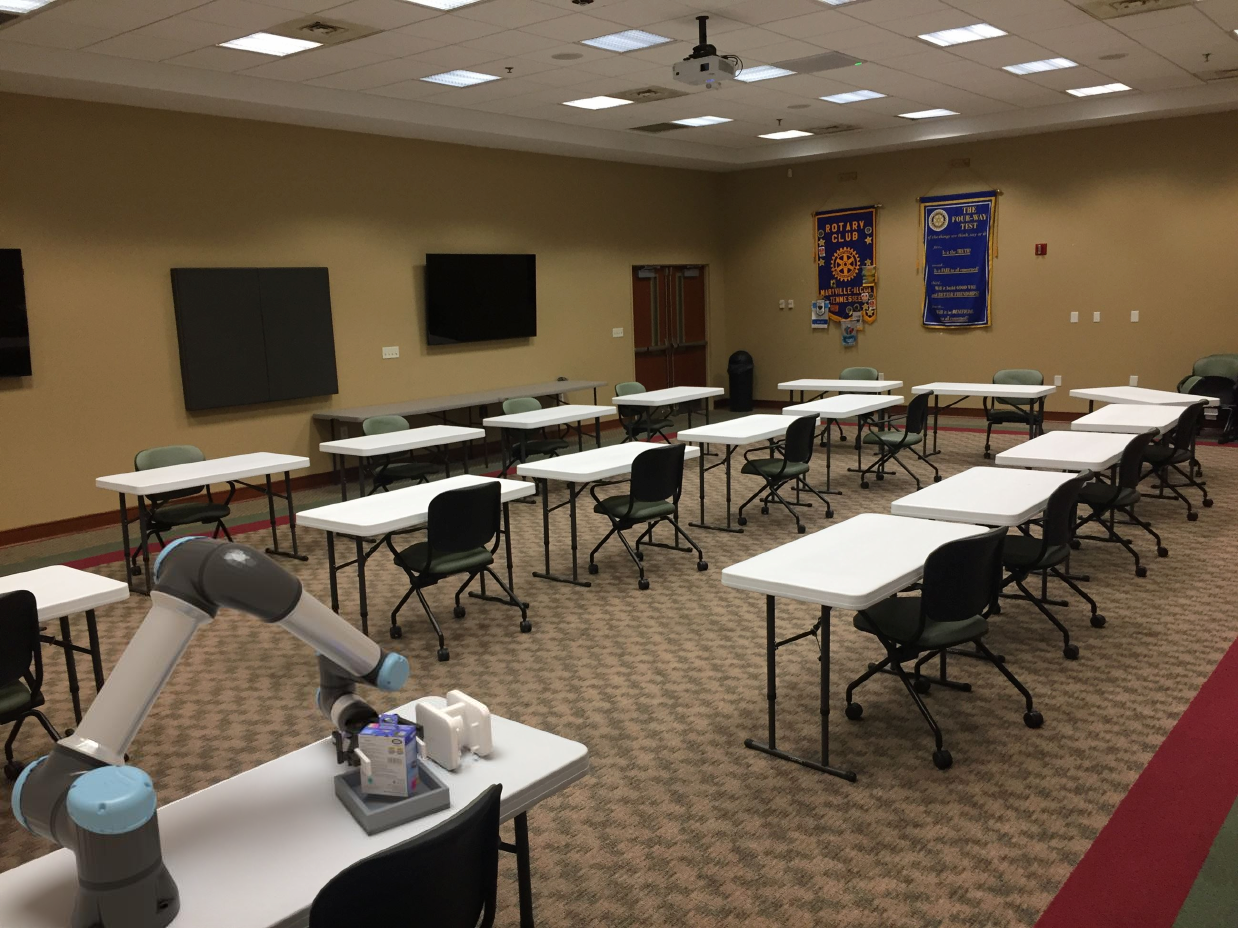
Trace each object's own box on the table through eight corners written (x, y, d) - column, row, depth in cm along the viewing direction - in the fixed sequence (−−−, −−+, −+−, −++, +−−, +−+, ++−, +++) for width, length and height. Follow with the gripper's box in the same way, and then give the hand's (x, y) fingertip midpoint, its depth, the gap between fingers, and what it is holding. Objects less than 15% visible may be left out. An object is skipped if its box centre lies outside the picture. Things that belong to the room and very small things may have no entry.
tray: (368, 836, 170) (367, 815, 169) (335, 794, 185) (333, 775, 184) (450, 807, 179) (449, 787, 178) (412, 770, 194) (411, 751, 193)
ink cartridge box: (421, 783, 183) (416, 713, 181) (409, 798, 178) (404, 726, 175) (373, 779, 185) (368, 710, 183) (360, 793, 180) (355, 722, 177)
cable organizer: (415, 750, 202) (411, 699, 200) (457, 734, 209) (454, 685, 207) (452, 775, 191) (449, 722, 189) (495, 758, 198) (493, 706, 196)
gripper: (408, 720, 202) (453, 760, 184) (301, 751, 189) (339, 797, 171) (406, 687, 200) (451, 724, 182) (298, 716, 188) (335, 759, 170)
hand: (397, 759), depth 177 cm, fingers closed on ink cartridge box, 10 cm apart
